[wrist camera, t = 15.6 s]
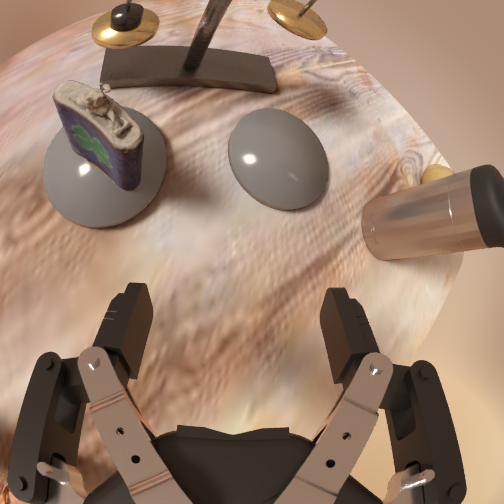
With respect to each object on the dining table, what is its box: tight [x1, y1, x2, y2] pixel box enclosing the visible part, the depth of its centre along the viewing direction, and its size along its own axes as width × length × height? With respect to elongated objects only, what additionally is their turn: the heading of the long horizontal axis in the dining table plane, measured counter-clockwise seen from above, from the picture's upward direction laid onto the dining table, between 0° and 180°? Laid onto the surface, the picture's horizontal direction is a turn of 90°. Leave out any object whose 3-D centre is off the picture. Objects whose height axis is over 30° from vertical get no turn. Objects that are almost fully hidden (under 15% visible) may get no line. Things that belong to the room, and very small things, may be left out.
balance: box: [92, 0, 327, 94], centre depth 19 cm, size 24×7×20 cm, turn 99°
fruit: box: [421, 164, 455, 184], centre depth 42 cm, size 8×8×8 cm
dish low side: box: [43, 106, 167, 228], centre depth 23 cm, size 13×13×1 cm
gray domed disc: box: [228, 108, 328, 210], centre depth 31 cm, size 13×13×1 cm
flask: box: [53, 80, 145, 191], centre depth 18 cm, size 9×3×11 cm, turn 56°
